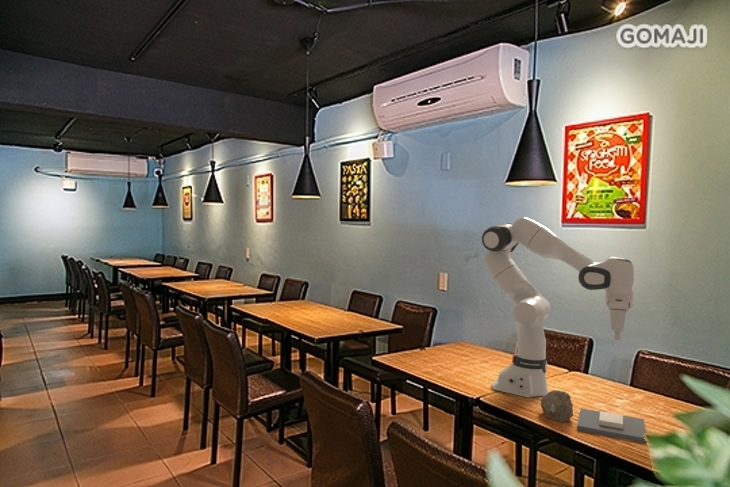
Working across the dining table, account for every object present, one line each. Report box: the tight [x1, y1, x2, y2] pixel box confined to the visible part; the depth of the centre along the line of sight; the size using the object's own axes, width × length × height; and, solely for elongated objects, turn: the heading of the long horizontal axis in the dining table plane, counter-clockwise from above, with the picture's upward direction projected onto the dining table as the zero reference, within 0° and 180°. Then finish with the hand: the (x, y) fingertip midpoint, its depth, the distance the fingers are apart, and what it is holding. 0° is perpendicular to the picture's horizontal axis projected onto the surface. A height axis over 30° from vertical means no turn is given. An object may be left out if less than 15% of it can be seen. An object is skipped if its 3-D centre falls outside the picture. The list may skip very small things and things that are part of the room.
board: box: [576, 408, 647, 444], centre depth 163 cm, size 20×18×2 cm
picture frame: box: [599, 411, 624, 429], centre depth 163 cm, size 7×2×9 cm
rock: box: [540, 389, 574, 423], centre depth 170 cm, size 14×10×8 cm
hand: (617, 338), depth 176 cm, fingers closed
